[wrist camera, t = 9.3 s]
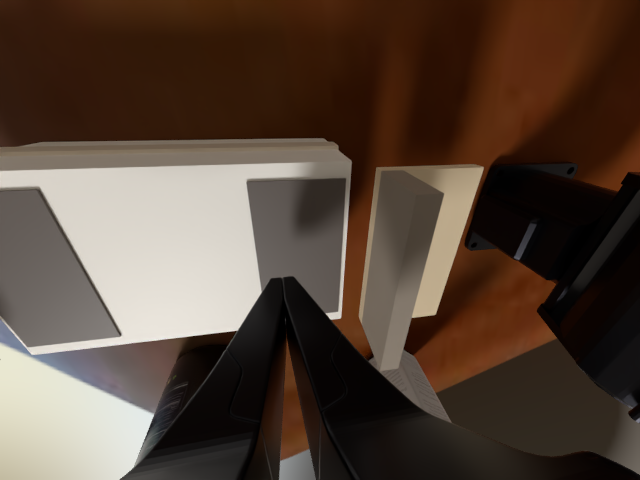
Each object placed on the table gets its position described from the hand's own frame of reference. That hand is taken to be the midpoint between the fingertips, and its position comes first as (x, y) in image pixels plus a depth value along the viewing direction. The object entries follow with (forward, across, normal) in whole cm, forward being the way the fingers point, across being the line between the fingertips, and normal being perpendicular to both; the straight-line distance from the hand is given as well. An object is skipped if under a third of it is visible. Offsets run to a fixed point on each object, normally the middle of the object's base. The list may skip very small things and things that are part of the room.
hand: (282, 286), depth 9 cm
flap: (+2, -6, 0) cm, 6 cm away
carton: (+8, +4, 0) cm, 9 cm away
